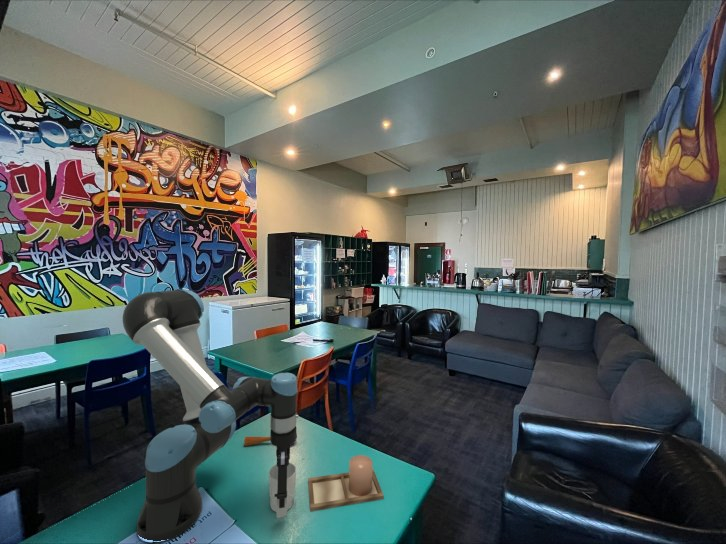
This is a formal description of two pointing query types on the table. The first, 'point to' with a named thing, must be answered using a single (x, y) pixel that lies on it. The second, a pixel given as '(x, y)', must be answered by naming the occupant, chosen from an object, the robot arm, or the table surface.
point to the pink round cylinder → (360, 475)
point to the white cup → (274, 484)
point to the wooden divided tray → (338, 492)
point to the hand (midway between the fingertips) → (282, 497)
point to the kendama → (257, 440)
